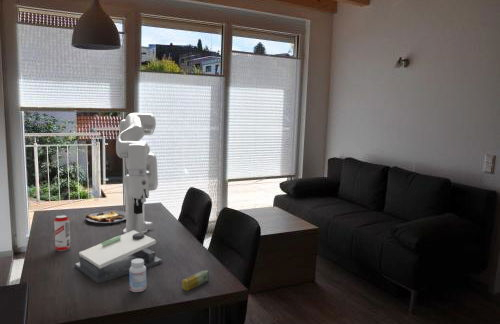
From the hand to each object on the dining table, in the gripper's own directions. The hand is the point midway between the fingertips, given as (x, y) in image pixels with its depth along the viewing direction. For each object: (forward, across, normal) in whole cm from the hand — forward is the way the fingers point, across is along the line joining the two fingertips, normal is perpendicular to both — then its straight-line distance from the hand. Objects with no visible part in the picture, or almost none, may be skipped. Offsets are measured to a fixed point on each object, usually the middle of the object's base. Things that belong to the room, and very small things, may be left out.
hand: (138, 213), depth 178 cm
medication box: (+22, -37, -3) cm, 43 cm away
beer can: (+21, +34, +20) cm, 45 cm away
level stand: (+21, 0, +10) cm, 23 cm away
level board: (+14, 0, +10) cm, 17 cm away
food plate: (+22, +64, -18) cm, 70 cm away
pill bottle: (+21, -25, +16) cm, 36 cm away
